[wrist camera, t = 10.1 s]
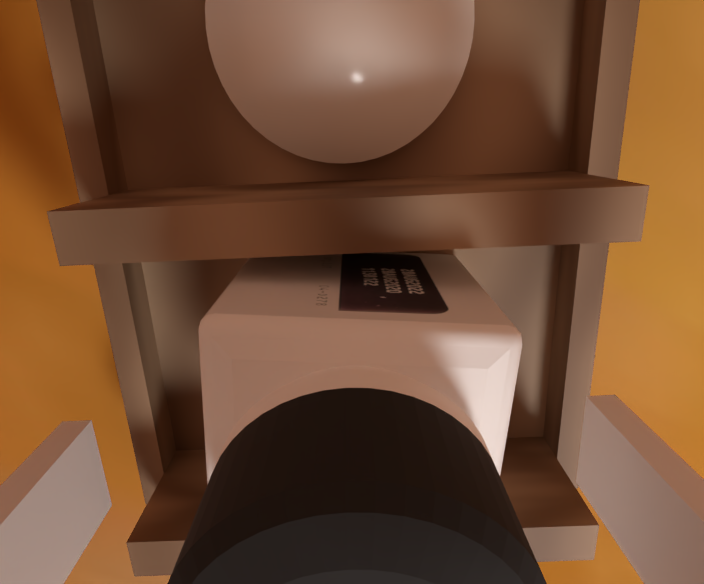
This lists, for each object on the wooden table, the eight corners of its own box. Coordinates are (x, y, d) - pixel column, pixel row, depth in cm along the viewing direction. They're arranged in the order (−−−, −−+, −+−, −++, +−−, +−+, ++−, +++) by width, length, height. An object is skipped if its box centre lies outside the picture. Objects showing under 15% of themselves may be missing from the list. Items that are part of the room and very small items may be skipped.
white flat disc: (228, 165, 18) (221, 167, 17) (197, -119, 15) (187, -136, 14) (462, 158, 17) (468, 159, 17) (473, -129, 15) (482, -146, 14)
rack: (167, 465, 23) (106, 577, 17) (41, -180, 15) (-144, -366, 9) (554, 450, 23) (622, 558, 17) (623, -210, 15) (790, -417, 9)
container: (255, 243, 18) (62, 474, 6) (458, 252, 19) (676, 495, 6) (258, 420, 21) (125, 843, 8) (438, 427, 21) (565, 851, 9)
